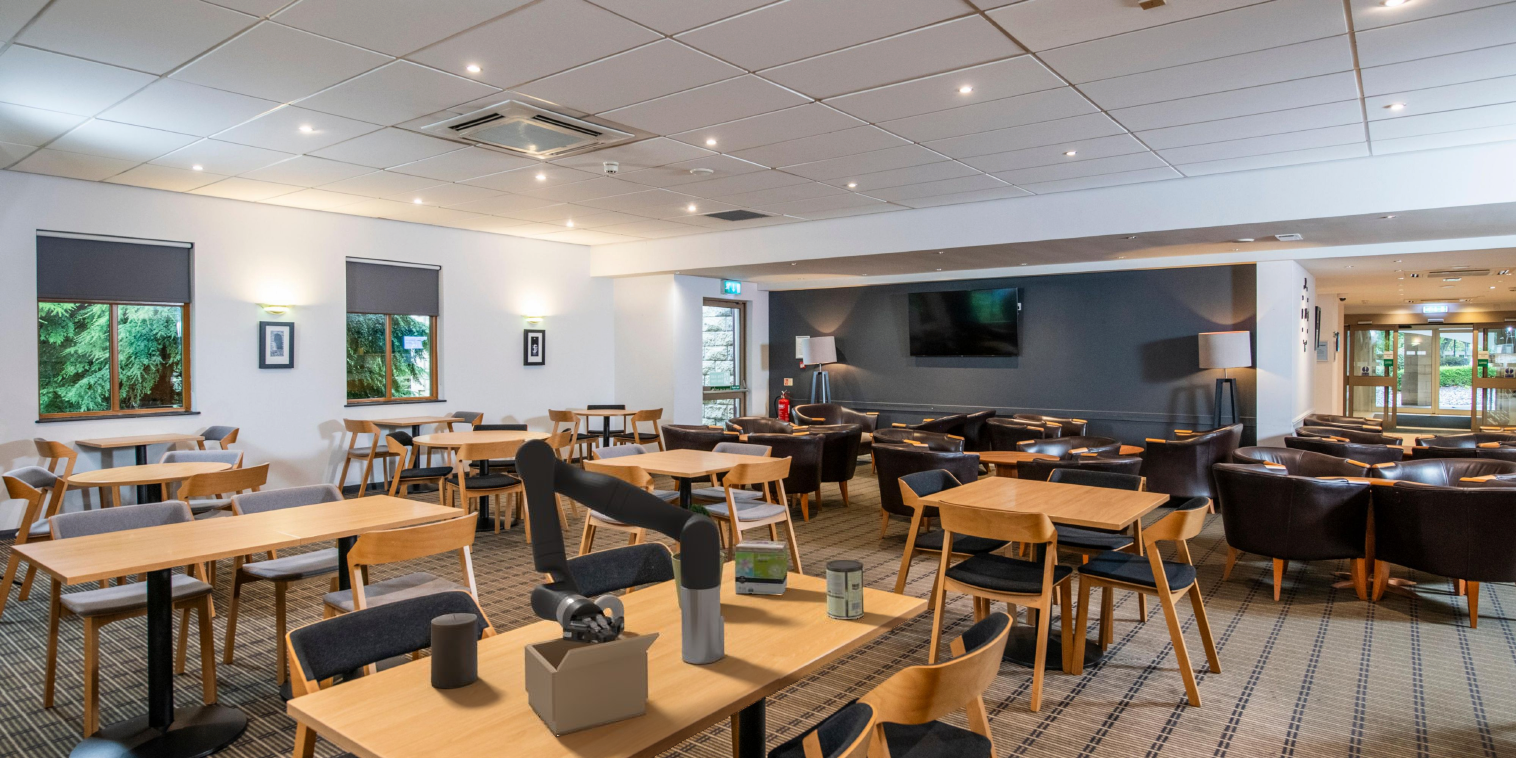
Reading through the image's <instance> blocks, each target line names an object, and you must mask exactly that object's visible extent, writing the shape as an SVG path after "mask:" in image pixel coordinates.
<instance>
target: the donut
mask: <svg viewBox="0 0 1516 758" xmlns="http://www.w3.org/2000/svg"><path fill="white" fill-rule="evenodd" d="M593 603H595V604H596V605H598V606H599V607H600V608H601V609H602V611H603V612H605V610H606V609H608V608H609V609H610V610H611V614H610V616H609V617H611V619H612V620H615V618H618V617H620V616H623V617H624V618H625V608H624V607H625V606H624V603H623V601H622V600H621V599H620V598H619V597H618V596H616V595H614V594H605V595H604V594H603V595H602V596H600V597H598V598H596V600H594V602H593Z"/></svg>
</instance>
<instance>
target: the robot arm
mask: <svg viewBox="0 0 1516 758" xmlns="http://www.w3.org/2000/svg"><path fill="white" fill-rule="evenodd" d="M514 466H515V470H516V473H517V475H518V477H519V478H520V479H521V481H522V484H523V487H524V491H525V496H526V501H527V502H526V503H527V508H528V517H529V519H528V520H529V532H530V533H529V534H530V543H531V550H532V557H533V564H534V568H535V570H536V572H537V573H540V574H551V575H554V576H555V577H556V578H557V579H558V581H553V582H547V583H542V584H539V585H537V586H536V587H535V588H534V589H533V590H532V592H531V595H530V599H529V601H530V602H529V603H530V607H531V609H532V611H533V612H534V614H535V615H536V616H537V617H538V618H540V619H542V620H546V621H551V622H557V623H558V624H559V625H560V628H562V638H563V640H565V641H573V642H580V643H590V642H591V641H594V642H597V643H600V644H601V643H606V642H611V641H615V638H617V637H618V636H619V635H620V634H621V635H622V633H623V632H624V630H625V616H624V617H623V616H620V617H618V618H615V620H612V619H611V617H610V616H608V615H606V614H605V611H602V609H601V608H600V607H599V606H598V605H596V604H595V603H594V602H593V601H592V600H591V599H589V598H588V597H585V596H583V595H582V594H581V590H580V587H579V586H578V582H577V581H576V579H575V577H574V575H573V572H572V570H571V568H570V565H569V562H568V560H567V558H568V557H567V554H566V547H565V546H566V545H565V540H564V535H563V529H562V524H561V518H560V515H559V510H558V505H557V499H556V498H557V497H556V494H559V495H562V496H565V497H567V498H568V499H571V500H573V501H575V502H576V503H578V504H580V505H583V506H585V507H586V508H588V509H590V510H593V511H594V512H597V513H599V514H601V515H603V516H605V517H607V518H610V519H612V520H614V521H616V522H619V523H621V524H624V525H628V526H632V527H637V528H641V529H647V530H651V531H654V532H657V533H659V534H662V535H665V536H666V537H669V538H671V539H672V540H674V541H676V542H678V543H679V552H680V574H681V609H680V610H681V612H680V613H681V614H680V615H681V616H680V617H681V619H680V620H681V659H682V660H683V661H684V662H686V663H687V664H688V663H689V664H694V665H702V664H703V665H704V664H705V665H706V664H710V663H715V662H717V661H719V660H720V659H722V658H725V657H726V656H725V617H724V616H723V615H721V589H720V552H721V542H720V541H721V539H720V531H719V527H718V525H717V523H716V521H715V520H714V519H711V518H710V517H708V516H706V515H702V514H699V513H696V512H693V511H689V509H687V510H686V508H683V507H681V506H677V505H675V504H672V503H670V502H667V501H666V500H665V499H662V498H660V497H659V496H657V495H655V494H654V493H652V492H650V491H647V490H645V489H643V488H641V487H639V486H637V485H635V484H634V483H630V482H629V481H626V480H624V479H622V478H620V477H616V476H614V475H611V474H606V473H602V472H597V471H591V470H586V469H583V468H578V467H577V466H574V465H572V464H570V463H569V462H567V461H564V460H563V459H561V458H560V457H557V456H556V452H555V451H554V448H553V447H552V445H550V443H548V442H547V441H545V440H542V439H539V438H531V439H528V440H526V441H524V442H523V443H521V445H520V446H518V448H517V450H516V453H515V456H514ZM714 521H715V522H714Z"/></svg>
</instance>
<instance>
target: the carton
mask: <svg viewBox="0 0 1516 758" xmlns="http://www.w3.org/2000/svg"><path fill="white" fill-rule="evenodd" d="M627 638H628V637H625V636H624V635H623V634H622V633H621V634H620V635H619V636H618V637H617V638H615V641H617V640H622V639H627ZM596 644H600V643H597V642H594V641H591V642H590V643H580V642H573V641H565V640H563V637H559V638H554V639H548V640H541V641H538V642H533V643H528V644H526V645H524V684H525V685H524V689H525V691H526V693H527V694H528V695H527V696H528V697H527V699H528V700H527V701H528V702H527V703H528V705H529V707H531V709H532V708H533V709H532V710H533V711H534V712H535V714H536V713H537V714H538V715H539V716H540V717H539V716H538V715H537V714H536V715H537V716H538V717H539V719H542V720H543V721H544V722H545V723H544V722H543V721H542V720H541V721H542V722H543V723H544V724H545V726H546V725H547V726H548V727H547V726H546V727H547V728H548V729H549V730H550V732H551V731H552V732H553V733H554V734H553V733H552V732H551V733H552V734H553V735H554V736H555V737H556V736H557V735H561V736H564V735H563V734H565V735H568V734H567V733H569V734H572V733H571V732H573V733H576V732H577V733H578V732H580V730H581V731H585V730H588V729H593V728H595V727H596V728H597V727H601V726H604V725H609V724H613V723H616V722H620V721H623V720H627V719H633V718H636V717H639V716H643V715H646V699H647V700H648V699H649V673H648V671H649V669H648V666H649V663H648V662H649V661H648V655H649V653H648V651H646V652H645V653H644V654H639V655H634V656H630V657H625V658H620V659H615V660H611V661H606V662H601V663H596V664H592V665H587V666H582V667H577V668H573V669H568V670H563V671H557V668H558V666H559V665H560V663H561V661H562V660H563V658H564V657H565V655H566V654H567V652H568V651H569V650H571V649H576V648H581V647H586V646H591V645H596ZM557 737H558V736H557Z"/></svg>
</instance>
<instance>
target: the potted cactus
mask: <svg viewBox="0 0 1516 758" xmlns="http://www.w3.org/2000/svg"><path fill="white" fill-rule="evenodd" d="M685 509H686V508H685ZM686 510H689V511H693V512H696V513H699V514H702V515H706V516H708V517H710V518H711V519H712V518H713V513H710V512H709V510H708V509H707V508H706V503H705V505H701V504H696V503H695V504H693V505H691V506H690V507H689V509H686ZM712 520H713V519H712ZM713 521H714V522H715V523H716V521H715V520H713ZM725 556H726V555H725V553H723V552H722V551H720V590H721V587H722V580H723V573H724V572H723V571H724V564H725ZM670 558H671V563H672V569H673V575H674V581H675V589H676V594H677V600H678V601H677V602H678V607H679V609H680V608H681V574H680V551H679V552H675V553H673V554H672V555H671V556H670Z"/></svg>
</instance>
